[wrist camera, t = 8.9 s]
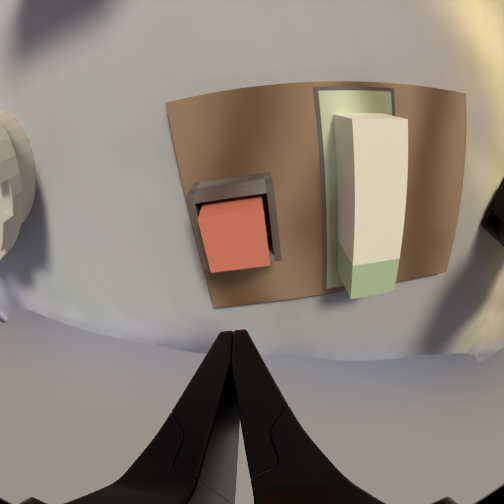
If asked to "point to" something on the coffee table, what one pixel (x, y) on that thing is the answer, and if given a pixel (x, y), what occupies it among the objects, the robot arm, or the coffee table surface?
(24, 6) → the coffee table surface
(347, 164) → the block
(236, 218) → the button
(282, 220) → the brown control panel
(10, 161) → the flag stand
